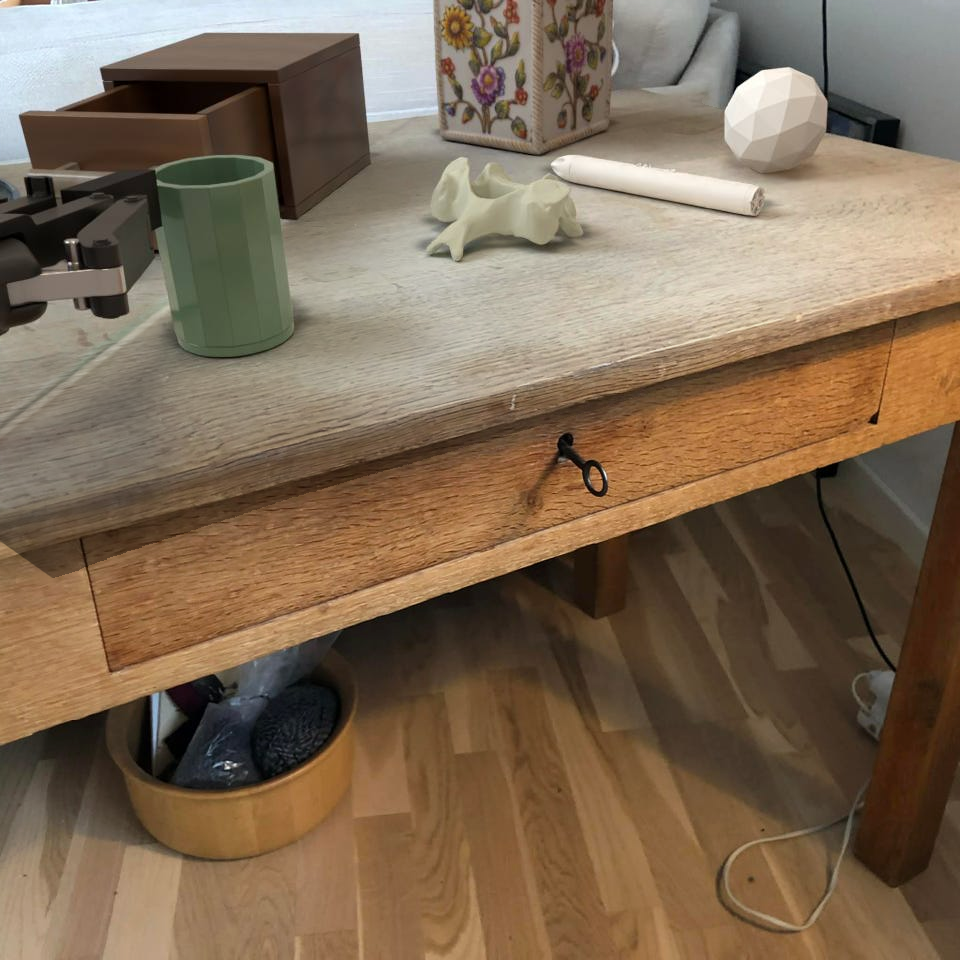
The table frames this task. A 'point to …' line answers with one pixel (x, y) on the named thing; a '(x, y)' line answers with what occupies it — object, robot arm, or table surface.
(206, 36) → the cabinet
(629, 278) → the table surface
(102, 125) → the drawer
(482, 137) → the decorative jar
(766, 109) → the geometric ball
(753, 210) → the marker
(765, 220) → the table surface
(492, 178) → the spine bone
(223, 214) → the pen cup
